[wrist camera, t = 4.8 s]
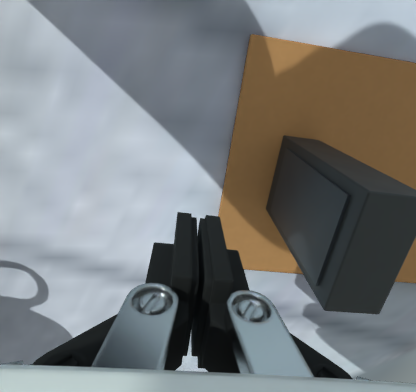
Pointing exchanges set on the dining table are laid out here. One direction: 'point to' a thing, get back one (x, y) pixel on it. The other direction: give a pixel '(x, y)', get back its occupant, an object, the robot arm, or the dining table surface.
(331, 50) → the cork mat
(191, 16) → the dining table surface
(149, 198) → the dining table surface
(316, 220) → the block
